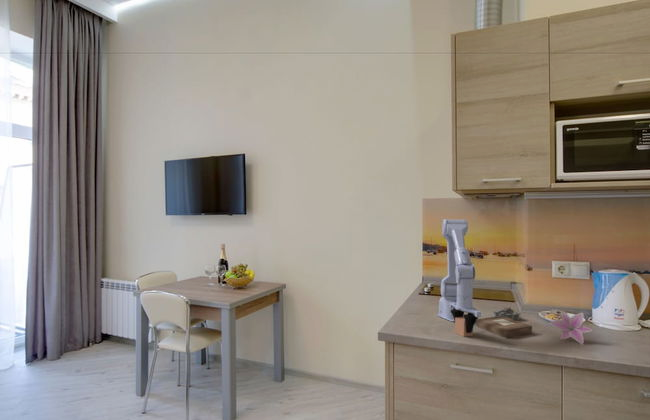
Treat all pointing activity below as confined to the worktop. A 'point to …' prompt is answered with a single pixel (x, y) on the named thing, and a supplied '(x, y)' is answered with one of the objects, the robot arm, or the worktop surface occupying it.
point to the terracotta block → (461, 327)
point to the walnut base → (504, 326)
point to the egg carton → (507, 313)
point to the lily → (571, 327)
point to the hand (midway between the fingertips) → (463, 330)
